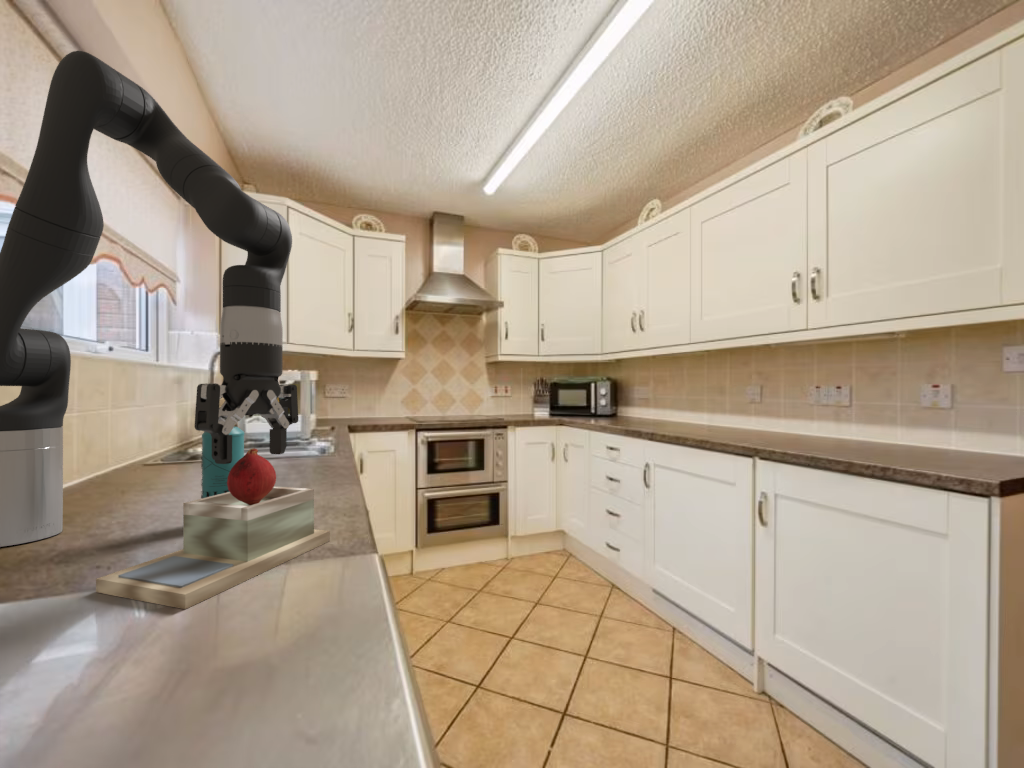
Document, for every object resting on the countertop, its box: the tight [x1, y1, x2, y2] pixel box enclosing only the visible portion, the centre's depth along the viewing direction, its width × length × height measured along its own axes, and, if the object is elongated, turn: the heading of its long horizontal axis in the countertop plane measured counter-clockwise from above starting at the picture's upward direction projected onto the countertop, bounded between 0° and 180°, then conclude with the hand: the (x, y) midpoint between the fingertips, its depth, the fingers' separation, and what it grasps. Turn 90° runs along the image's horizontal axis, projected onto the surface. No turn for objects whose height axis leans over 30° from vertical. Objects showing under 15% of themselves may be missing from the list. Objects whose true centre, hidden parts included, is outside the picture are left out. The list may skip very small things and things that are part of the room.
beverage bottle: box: [200, 407, 245, 499], centre depth 75 cm, size 6×7×20 cm
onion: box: [227, 447, 277, 505], centre depth 60 cm, size 6×6×8 cm
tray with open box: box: [95, 485, 331, 610], centre depth 56 cm, size 14×21×8 cm, turn 162°
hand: (251, 458), depth 60 cm, fingers open, 8 cm apart
